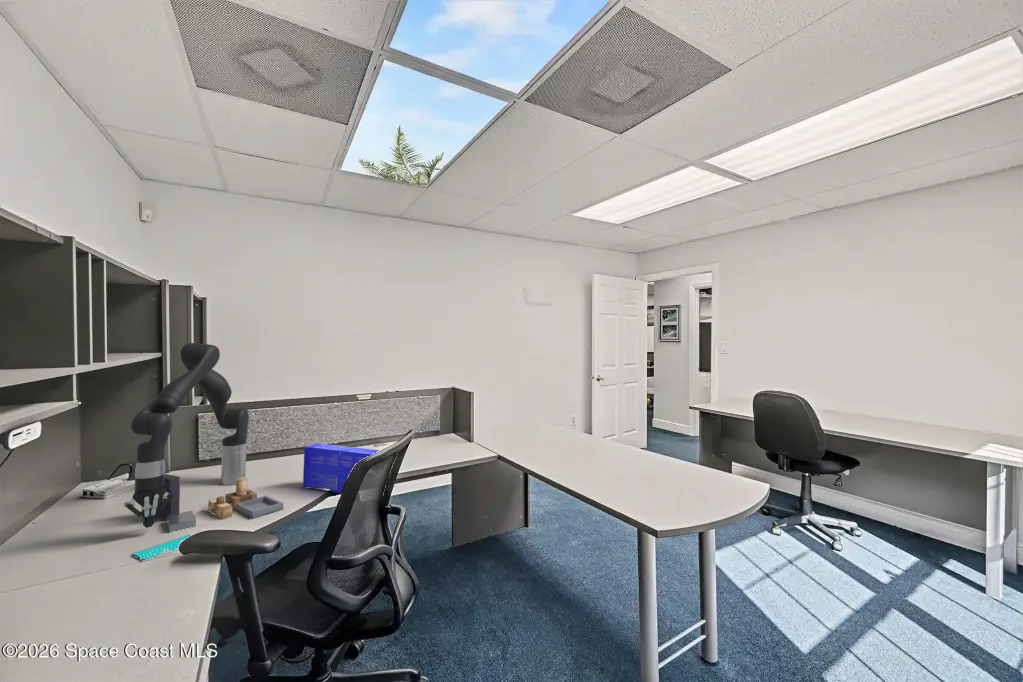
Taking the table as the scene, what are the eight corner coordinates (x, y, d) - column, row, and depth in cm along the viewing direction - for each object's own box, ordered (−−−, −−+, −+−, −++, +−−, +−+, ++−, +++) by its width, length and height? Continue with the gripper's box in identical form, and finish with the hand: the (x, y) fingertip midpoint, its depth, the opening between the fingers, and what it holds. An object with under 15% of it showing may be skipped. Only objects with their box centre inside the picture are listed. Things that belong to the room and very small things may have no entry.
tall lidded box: (181, 517, 155) (182, 475, 155) (168, 521, 150) (169, 479, 150) (160, 512, 158) (162, 472, 158) (147, 517, 154) (148, 475, 154)
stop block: (208, 511, 160) (208, 495, 161) (217, 508, 163) (217, 492, 163) (222, 519, 154) (223, 502, 154) (231, 516, 156) (232, 500, 156)
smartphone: (131, 554, 127) (188, 534, 140) (130, 556, 127) (188, 537, 140) (142, 560, 124) (200, 540, 137) (142, 563, 124) (200, 542, 137)
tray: (235, 510, 162) (236, 503, 162) (265, 501, 171) (266, 495, 171) (252, 518, 155) (253, 511, 155) (283, 509, 164) (283, 502, 164)
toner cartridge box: (388, 493, 184) (390, 450, 184) (377, 500, 176) (378, 455, 176) (316, 482, 196) (317, 441, 196) (302, 487, 188) (303, 445, 188)
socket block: (225, 504, 167) (225, 494, 167) (247, 498, 174) (247, 488, 174) (234, 509, 163) (235, 499, 163) (256, 503, 169) (257, 493, 169)
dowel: (233, 504, 168) (234, 478, 168) (243, 501, 171) (244, 476, 171) (238, 506, 166) (239, 480, 166) (248, 503, 169) (248, 478, 169)
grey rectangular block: (166, 524, 150) (166, 515, 150) (191, 518, 154) (191, 510, 154) (169, 533, 142) (170, 524, 142) (195, 527, 147) (196, 519, 147)
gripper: (170, 467, 149) (168, 517, 148) (120, 476, 138) (118, 530, 137) (178, 471, 144) (177, 522, 144) (127, 481, 133) (126, 536, 133)
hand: (148, 526), depth 141 cm, fingers closed
